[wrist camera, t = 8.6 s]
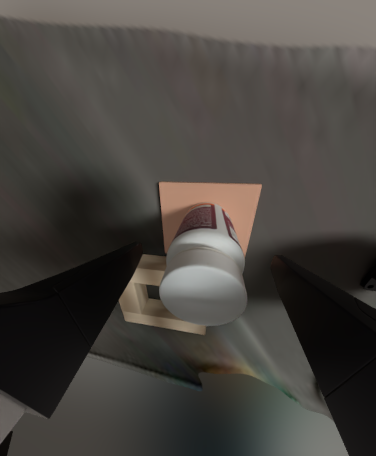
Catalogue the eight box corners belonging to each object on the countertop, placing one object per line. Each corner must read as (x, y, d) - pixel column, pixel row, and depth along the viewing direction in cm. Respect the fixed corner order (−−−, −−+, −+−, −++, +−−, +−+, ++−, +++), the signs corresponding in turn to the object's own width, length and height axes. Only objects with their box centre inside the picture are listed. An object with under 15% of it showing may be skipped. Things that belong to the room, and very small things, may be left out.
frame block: (211, 260, 16) (211, 276, 14) (205, 316, 21) (205, 334, 19) (119, 251, 18) (106, 264, 15) (133, 305, 22) (125, 321, 20)
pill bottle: (177, 234, 14) (141, 310, 7) (193, 193, 12) (164, 239, 5) (218, 251, 15) (224, 342, 7) (240, 212, 12) (284, 287, 5)
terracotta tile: (259, 183, 12) (262, 184, 11) (242, 257, 15) (244, 260, 15) (161, 181, 13) (158, 182, 12) (166, 249, 16) (165, 252, 16)
